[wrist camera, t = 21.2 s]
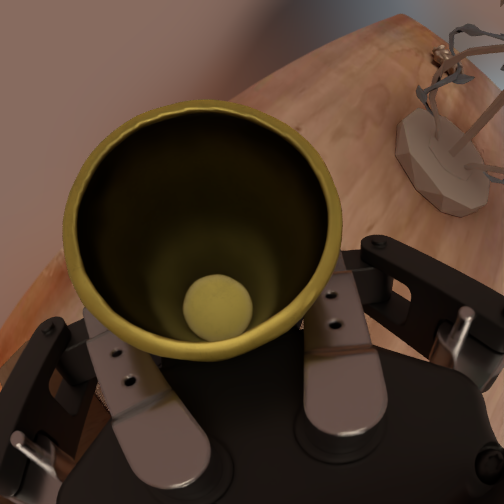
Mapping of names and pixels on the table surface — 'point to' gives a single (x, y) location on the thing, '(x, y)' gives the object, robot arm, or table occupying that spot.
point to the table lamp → (448, 142)
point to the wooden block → (96, 412)
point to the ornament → (445, 58)
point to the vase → (201, 230)
